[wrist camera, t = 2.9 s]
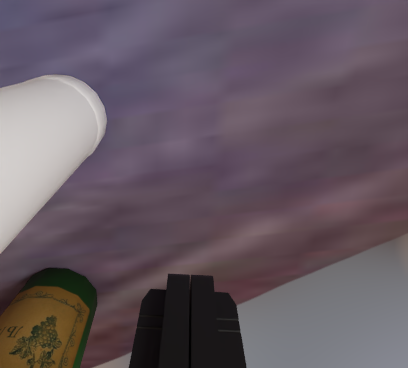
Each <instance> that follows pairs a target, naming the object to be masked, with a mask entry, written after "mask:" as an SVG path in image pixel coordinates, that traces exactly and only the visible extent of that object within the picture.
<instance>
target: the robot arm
mask: <svg viewBox="0 0 408 368" xmlns="http://www.w3.org/2000/svg"><path fill="white" fill-rule="evenodd" d="M129 368H246V362H245V356H244V349H243V343H242V337H241V333H240V326H239V321H238V313H237V307H236V304H235V302H234V301H233V299H232V298H231V296H230V295H229V294H228V293H222V292H214V281H213V276H204V275H191V281H190V275H183V274H168V280H167V289H166V290H160V289H150V291H149V292H148V293H147V295H146V296H145V297H144V299H143V300H142V303H141V308H140V313H139V318H138V323H137V329H136V334H135V339H134V344H133V349H132V355H131V360H130V365H129Z"/></svg>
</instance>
